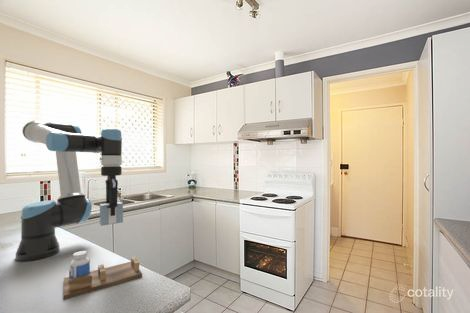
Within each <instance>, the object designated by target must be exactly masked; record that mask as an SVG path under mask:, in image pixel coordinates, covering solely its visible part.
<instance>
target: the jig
mask: <svg viewBox="0 0 470 313" xmlns="http://www.w3.org/2000/svg"><path fill="white" fill-rule="evenodd" d="M97 268H98V269H96V270H95V269H94V270H90V274H88V275H84V276H80V277H76V278H72V279H71V268H70V269H69V270H68V276H66V277H64V278H63V300H66V299H70V298H74V297H76V296H80V295H84V294H87V293H91V292H94V291H97V290H101V289H105V288H108V287H111V286H114V285H115V286H116V285H118V284H123V283H125V282H129V281H132V280H133V281H134V280H136V279H139V278H142V277H143V273H142V271H141V270H140V261H139V259H138V258H137V257H136V256H132V257H130V261H128V262H124V263H119V264H116V265H113V266H108V267H105V265H104V263H103V264H98V267H97Z"/></svg>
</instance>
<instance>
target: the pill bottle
mask: <svg viewBox="0 0 470 313" xmlns="http://www.w3.org/2000/svg"><path fill="white" fill-rule="evenodd" d="M90 260H91V259H90V258H89V257H88V251H87V250H79V251H77V252H74V253H73V254H72V260H71V261H70V269H71V279H72V278H76V277H80V276H84V275H88V274H90V272H91V266H90V265H91V264H90V263H91V262H90Z"/></svg>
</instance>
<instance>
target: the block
mask: <svg viewBox="0 0 470 313" xmlns="http://www.w3.org/2000/svg"><path fill="white" fill-rule="evenodd" d="M107 207H109V203H99V225H100V227H103V226H108V225H110V224H109V208H107ZM120 223H121V224H122V223H124V203H123V202H122V201H119V202H118V201H117V206H116V223H113V224H112V225H114V224H120Z"/></svg>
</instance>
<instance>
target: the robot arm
mask: <svg viewBox="0 0 470 313" xmlns="http://www.w3.org/2000/svg"><path fill="white" fill-rule="evenodd" d="M81 130H82V129H81V128H80V126H78V124H76V123H72V122H71V123H70V122H62V121H53V120H47V119H38V120H32V121H29V122H27V123H26V124H25V125H24V126H23V128H22V135H23V136H24V138H25V139H26V140H28V141H29V142H32V143H37V144H43V145H45V147H46V148H47V149H48V150H49V151H51V152H55V157H56V158H55V159H56V165H57V167H56V168H57V173H58V174H57V175H58V183H59V184H58V185H59V193H60V196H59V197H58V198H57V199H56V200H57V202H56V201H55V200H54V199H53V200H52V199H51V200H50V199H49V200H41V201H37V202H33V203H29V204H27V205H25V206H24V207H23V208H22V210H21V216H20V219H21V222H20V226H21V227H20V228H21V229H20V230H21V231H20V234H21V235H20V236H21V237H20V238H21V239H20V242H19V245H18V247H17V249H16V252H15V260H16V261H18V262H29V261H30V262H31V261H36V260H41V259H44V258H48V257H51V256H53V255H55V254H57V253H58V252H60V243H59V241H58V238H57V237H56V228H60V227H61V228H62V227H65V226H66V227H67V226H70V225H76V224H79V223H80V224H81V223H83V222H86V221H87V220H89V218H90V216H91V214H92V201H91V200H90V198H86V194H84V193H83V192H82V190H81V182H80V174H79V173H80V172H79V165H78V158H77V152H78V153H93V154H95V153H96V154H99V153H100V156H101V157H99V161H100V164H101V168H100V169H101V170H100V173H101V174H100V175H101V176H103V177H107V178H106V179H105V204H107V203H109V207H107V208H109V225H114V224H113V223H116V206H117V202H118V186H119V183H118V182H119V181H118V179H117V176H122V172H123V171H122V163H123V162H122V161H123V160H122V158H123V156H122V153H123V152H122V149H123V148H122V147H123V144H122V143H123V142H122V141H123V138H122V131H121V130H120V129H117V128H101V132H100V135H99V134H96V135H95V134H87V133H86V134H84V133H82V131H81ZM116 224H117V223H116Z"/></svg>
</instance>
